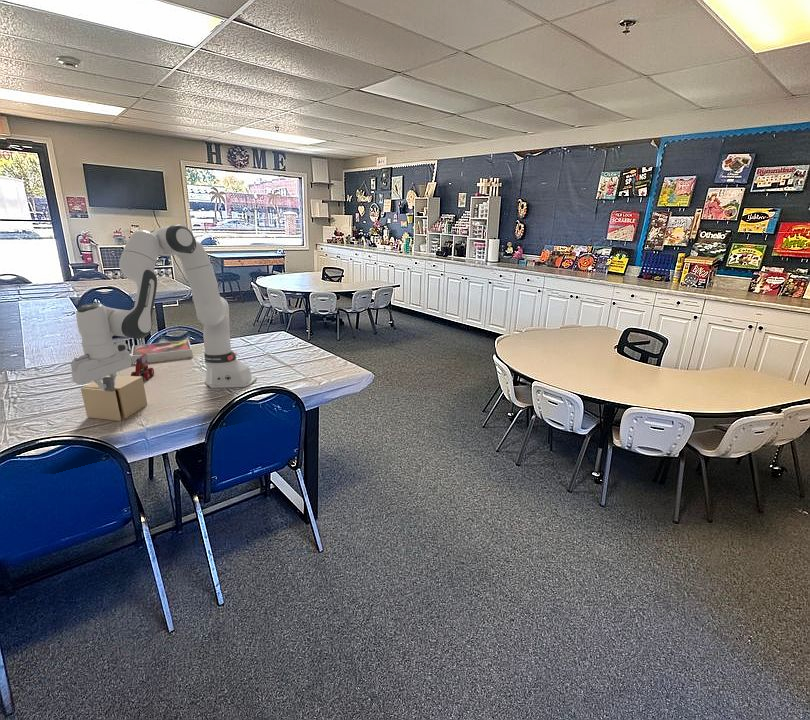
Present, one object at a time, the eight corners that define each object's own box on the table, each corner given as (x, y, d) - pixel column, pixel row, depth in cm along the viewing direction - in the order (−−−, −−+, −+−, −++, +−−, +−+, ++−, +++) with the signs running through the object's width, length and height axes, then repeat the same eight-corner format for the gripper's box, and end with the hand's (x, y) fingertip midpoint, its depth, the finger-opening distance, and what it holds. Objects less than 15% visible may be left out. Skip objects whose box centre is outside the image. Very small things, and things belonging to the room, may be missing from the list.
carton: (147, 404, 171) (142, 376, 167) (125, 418, 158) (119, 388, 155) (114, 403, 171) (108, 375, 168) (89, 416, 159) (82, 387, 155)
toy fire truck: (129, 383, 193) (125, 361, 190) (140, 374, 204) (136, 353, 201) (146, 382, 194) (142, 360, 191) (156, 373, 206) (152, 352, 203)
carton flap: (121, 419, 156) (113, 377, 151) (119, 421, 155) (110, 378, 150) (89, 416, 159) (79, 374, 154) (86, 417, 158) (76, 375, 153)
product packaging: (133, 354, 235) (132, 345, 234) (189, 348, 249) (188, 340, 247) (132, 365, 218) (131, 356, 216) (193, 358, 231) (191, 349, 230)
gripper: (77, 360, 137) (86, 399, 141) (131, 343, 156) (138, 378, 160) (62, 358, 139) (72, 397, 143) (117, 342, 157) (124, 376, 162)
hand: (107, 387), depth 152 cm, fingers open, 2 cm apart
